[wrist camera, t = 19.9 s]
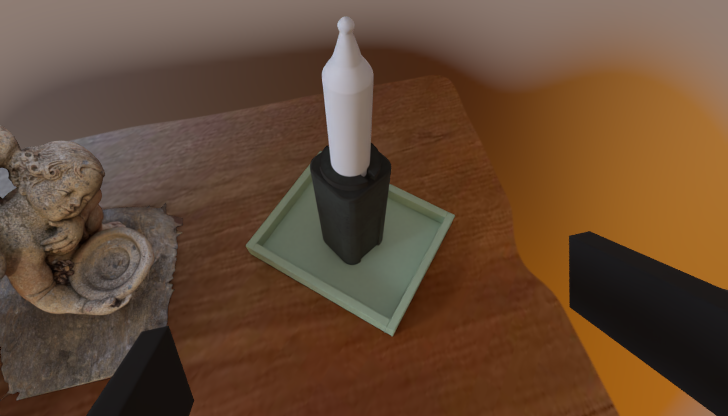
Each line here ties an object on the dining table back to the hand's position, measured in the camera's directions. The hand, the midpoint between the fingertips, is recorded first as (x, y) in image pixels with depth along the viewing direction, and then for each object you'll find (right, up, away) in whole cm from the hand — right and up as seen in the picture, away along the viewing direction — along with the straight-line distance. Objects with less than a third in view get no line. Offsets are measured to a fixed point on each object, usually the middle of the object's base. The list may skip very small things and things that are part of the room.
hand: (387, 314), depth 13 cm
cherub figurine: (-28, -5, +26) cm, 38 cm away
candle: (-2, 0, +28) cm, 28 cm away
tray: (-2, 0, +29) cm, 29 cm away
